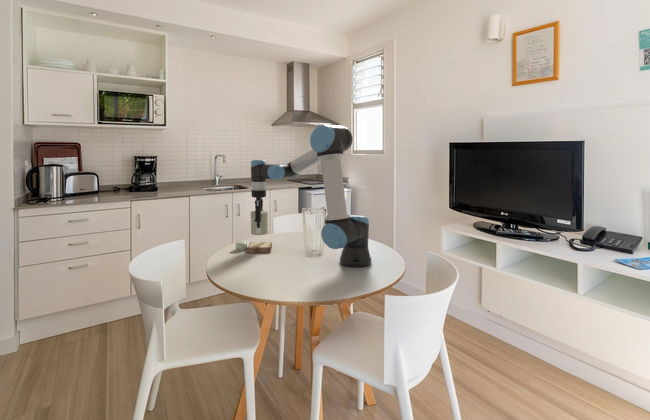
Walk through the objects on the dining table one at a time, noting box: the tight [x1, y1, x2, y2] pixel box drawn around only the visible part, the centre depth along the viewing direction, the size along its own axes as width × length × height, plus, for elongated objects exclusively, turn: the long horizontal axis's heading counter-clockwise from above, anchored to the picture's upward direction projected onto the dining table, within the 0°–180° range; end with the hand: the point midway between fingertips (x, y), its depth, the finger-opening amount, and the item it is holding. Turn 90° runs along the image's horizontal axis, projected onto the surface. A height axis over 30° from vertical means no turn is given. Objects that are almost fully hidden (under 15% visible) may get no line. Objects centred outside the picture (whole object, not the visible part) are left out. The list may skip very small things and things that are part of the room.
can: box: [249, 210, 269, 236], centre depth 194 cm, size 9×9×12 cm
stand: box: [246, 241, 273, 254], centre depth 196 cm, size 12×12×3 cm
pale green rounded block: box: [235, 240, 248, 252], centre depth 196 cm, size 6×6×4 cm
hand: (259, 231), depth 195 cm, fingers closed on can, 9 cm apart
